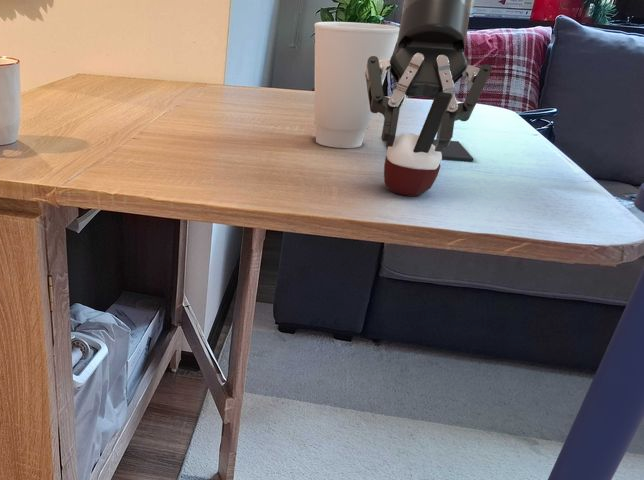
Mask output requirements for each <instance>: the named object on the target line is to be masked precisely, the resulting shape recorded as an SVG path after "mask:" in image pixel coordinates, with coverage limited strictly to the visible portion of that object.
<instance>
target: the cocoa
mask: <svg viewBox="0 0 644 480" xmlns="http://www.w3.org/2000/svg"><path fill="white" fill-rule="evenodd" d="M452 96H453V95H452V94H451V93H442V92H439V93H437V94H436V95H435V98H433V101H432V103H431V106H430V108H429V110H428V113H427V116H426V118H425V120H424V123H423V125H422V128H421V131H420V133H419V135H418V134H415V133H414V134H413V133H402V134H399V135H395V140H394V143H393V147H389V146H387V149H386V155H385V159H384V160H385V161H384V165H383V181H384V184H385V186H386V187H387V188H388V189H389V190H390V191H391V192H392V193H394V194H397V195H400V196H406V197H416V196H420V195H422V194H424V193H426V192H427V191H428V190H430V189H431V188H432V187H433V185H434V183H435V181H436V179H437V178H438V176H439V173H440V170H441V167H442V166H441V162H442V161H443V159H442V154H441V152H437V151H435V146H434V145H433V144H432V143H433V141H434V139H436V137H437V131H438V129H439V127H440V124H441V122H442V120H443V117H444V115H445V113H446V110H447V108H448V106H449V103H450V101H451V99H452Z"/></svg>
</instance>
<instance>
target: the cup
mask: <svg viewBox="0 0 644 480" xmlns="http://www.w3.org/2000/svg"><path fill="white" fill-rule="evenodd" d="M313 26H314V96H313V97H314V103H313V104H314V107H313V108H314V109H313V110H314V113H313V115H314V117H313V118H314V119H313V122H314V125H315V142H316V143H317V144H319V145H321V146H325V147H329V148H336V149H355V148H359V147H361V146H362V144H363V142H364V137H365V134H366V131H367V129H369V128H370V126H371V123H372V119H373V116H374V113H372V112H371V111H370V106H369V98H368V91H367V84H366V76H365V73H366V67H367V62H368V58H369V57H371V56H376V57H377V58H378V60H379V61H380V60H387V59H390V58H391V56H392V55H393V54H394V52H395V49H396V46H397V41H398V35H399V29H400V26H397V25H391V24H390V25H389V24H382V23H369V22H353V21H318V22H315V23H314V25H313ZM387 73H388V72H386V73H385V77H384V79H383V80H382V86H383V85H384V82H385V78H386V76H387Z"/></svg>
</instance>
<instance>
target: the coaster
mask: <svg viewBox="0 0 644 480" xmlns="http://www.w3.org/2000/svg"><path fill="white" fill-rule="evenodd" d="M432 144H433V145H434V146H435V145H436V138H434V141H433V143H432ZM441 154H442V160H448V161H449V160H450V161H460V162H462V161H463V162H474V157H473V156H472V155H471V154H470V153H469V151H468V150H467V149H466V148H465V146H463V145H462V144H461V142H460V141H458V140H451V141H450V143H449V145H448V146H447V147H443V149H442V152H441Z"/></svg>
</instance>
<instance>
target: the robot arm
mask: <svg viewBox="0 0 644 480" xmlns="http://www.w3.org/2000/svg"><path fill="white" fill-rule="evenodd" d="M471 7H472V0H404V1H403V4H402V11H401V14H400V22H399V23H400V24H399V27H400V29H399V35H398V39H397V42H396V46H395V50H394V52H393V54H392V56H391V58H390V59H387V60H380V61H379V60H378V58H377V57H376V56H371V57H369V58H368V62H367V67H366V73H365V76H366V84H367V91H368V98H369V106H370V111H371V112H372V113H373V114H378V113H380V114H381V115H382V116H383V118H384V119H383V125H382V131H381V141H382V142H386V143H385V144H386V145H385V146H386V147H388V146H389V147H393V143H394V140H395V137H396V136H397V129H398V122H399V116H400V111H401V108H402V107H403V106H404V104H405V103H406V101H407V99H408V97H413V98H415V97H424V98H428V99H434V98H435V95H436V94H437V93H439V92H442V93H451V94H452V95H453V96H452V99H451V101H450V103H449V106H448V108H447V110H446V113H445V115H444V117H443V120H442V122H441V124H440V127H439V129H438V131H437V134H436V137H435V140H436V145H435V151H437V152H442V149H443V147H447V146H448V145H449V143H450V141H452V138H453V135H454V128H455V122H457V121H460V122H468V121H469V119H470V118H471V116H472V114H473V111H474V109H475V107H476V105H477V103H478V101H479V98H480V96H481V94H482V92H483V90H484V88H485V86H486V84H487V81H488V79H489V77H490V75H491V73H492V71H493V67H492V65H490V64H489V63H488V64H487V63H485V64H482V65H481V66H480V67H477V66H475V65H471V64H468V63H469V62H468V59H467V58H466V55H465V50H466V43H467V36H468V28H469V22H470V13H471ZM386 72H387V73H388V72H389V73H390V74H391V76H392V78H393V79H394V80H395V82H396V84H397V85H396V87H395V88H394V90H393V92H392V94H391V95H390V97H388V96H386V95H385V94H384V87H383V85H382V80H383V79H384V77H385V78H386V76H385V73H386ZM387 73H386V74H387ZM462 78H465V80H466V81H465V85H466V87H467V89H468V90H469V91H468V93H467V96H466V98H465V100H464V101H463V102H457V98H456V94H455V84H456V83H457V82H458V81H459V80H461V79H462ZM384 80H385V79H384Z"/></svg>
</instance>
